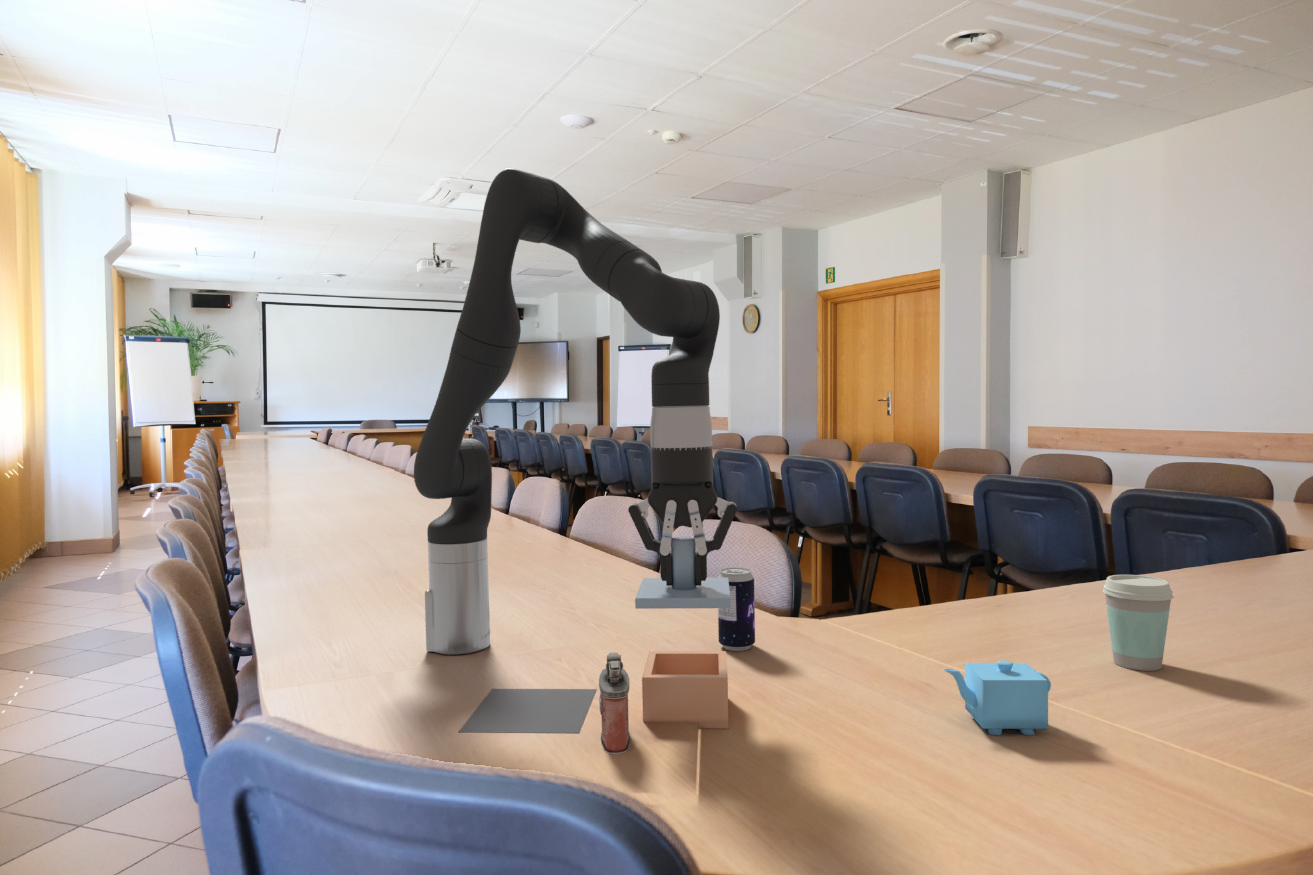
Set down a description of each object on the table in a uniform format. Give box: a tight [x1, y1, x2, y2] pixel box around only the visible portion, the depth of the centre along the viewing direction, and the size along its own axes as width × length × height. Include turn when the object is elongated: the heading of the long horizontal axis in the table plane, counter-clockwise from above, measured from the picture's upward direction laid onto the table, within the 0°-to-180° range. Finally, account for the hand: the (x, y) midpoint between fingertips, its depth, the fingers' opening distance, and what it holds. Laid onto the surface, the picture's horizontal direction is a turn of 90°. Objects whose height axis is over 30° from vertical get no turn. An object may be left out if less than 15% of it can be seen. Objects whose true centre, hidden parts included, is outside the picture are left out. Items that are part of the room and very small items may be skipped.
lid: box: [634, 536, 730, 610], centre depth 97 cm, size 11×11×7 cm
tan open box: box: [641, 650, 729, 730], centre depth 97 cm, size 10×10×6 cm
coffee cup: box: [1101, 574, 1174, 672], centre depth 111 cm, size 9×8×12 cm
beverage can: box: [717, 567, 756, 652], centre depth 123 cm, size 6×6×12 cm
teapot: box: [943, 660, 1052, 736], centre depth 91 cm, size 12×6×8 cm, turn 86°
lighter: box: [598, 651, 632, 755], centre depth 88 cm, size 8×3×10 cm, turn 5°
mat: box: [458, 688, 597, 734], centre depth 97 cm, size 14×14×1 cm
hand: (684, 583), depth 97 cm, fingers closed on lid, 3 cm apart
